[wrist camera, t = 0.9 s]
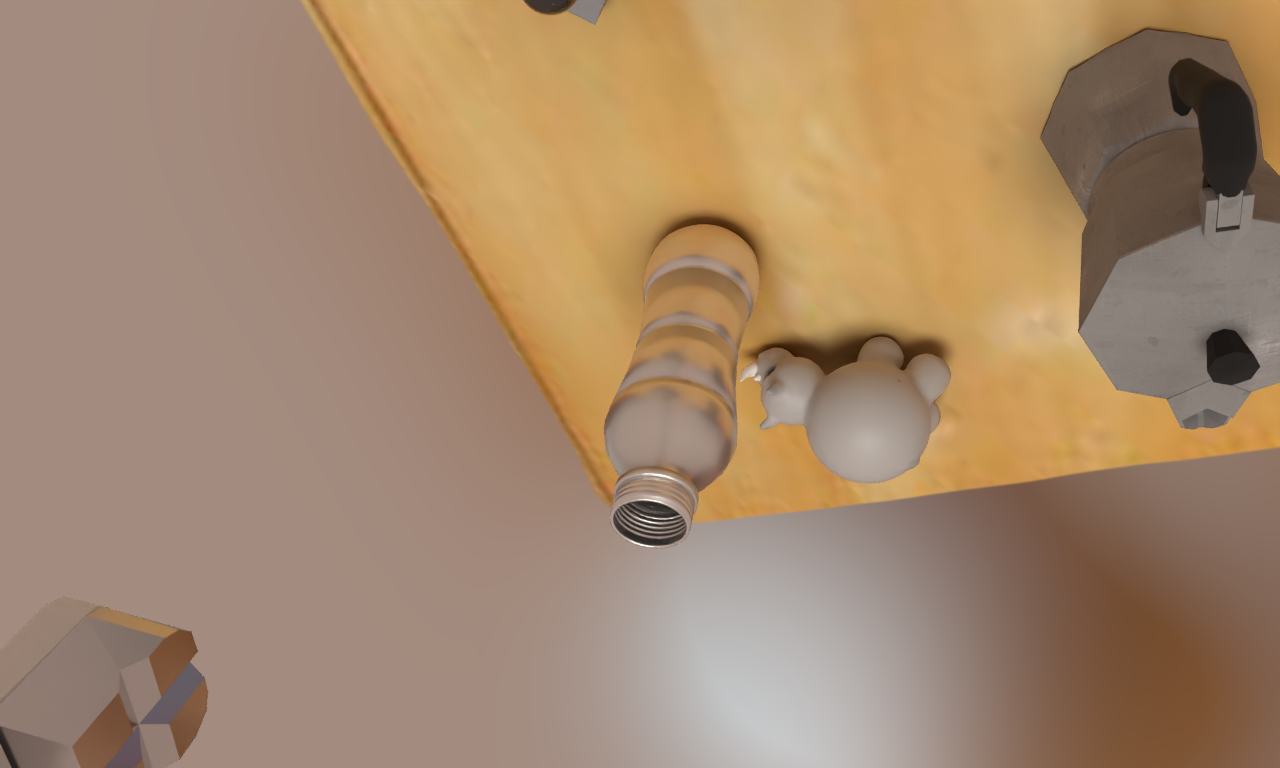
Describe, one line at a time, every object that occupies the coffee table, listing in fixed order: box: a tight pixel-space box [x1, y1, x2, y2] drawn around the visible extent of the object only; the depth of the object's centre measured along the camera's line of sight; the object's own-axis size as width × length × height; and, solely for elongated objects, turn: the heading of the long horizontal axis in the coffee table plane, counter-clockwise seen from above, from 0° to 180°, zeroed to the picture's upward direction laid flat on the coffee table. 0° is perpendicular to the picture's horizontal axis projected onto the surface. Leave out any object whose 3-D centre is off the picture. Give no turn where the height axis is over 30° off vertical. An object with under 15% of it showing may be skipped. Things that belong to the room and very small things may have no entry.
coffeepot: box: [1041, 29, 1280, 429], centre depth 40 cm, size 15×9×18 cm, turn 18°
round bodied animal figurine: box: [740, 337, 951, 483], centre depth 59 cm, size 7×12×8 cm, turn 89°
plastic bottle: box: [604, 224, 760, 548], centre depth 50 cm, size 6×7×20 cm
